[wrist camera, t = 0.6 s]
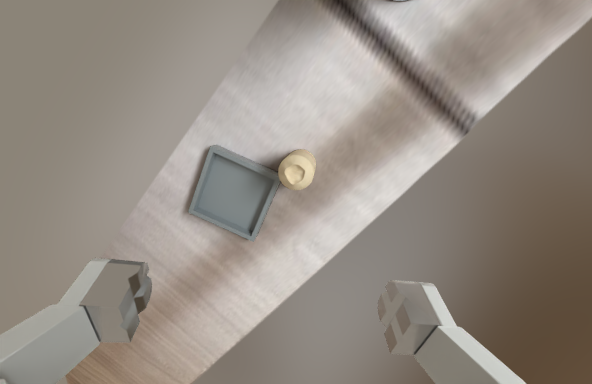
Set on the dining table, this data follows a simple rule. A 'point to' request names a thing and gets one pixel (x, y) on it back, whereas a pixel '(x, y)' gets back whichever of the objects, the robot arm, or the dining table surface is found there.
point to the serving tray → (234, 192)
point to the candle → (297, 170)
